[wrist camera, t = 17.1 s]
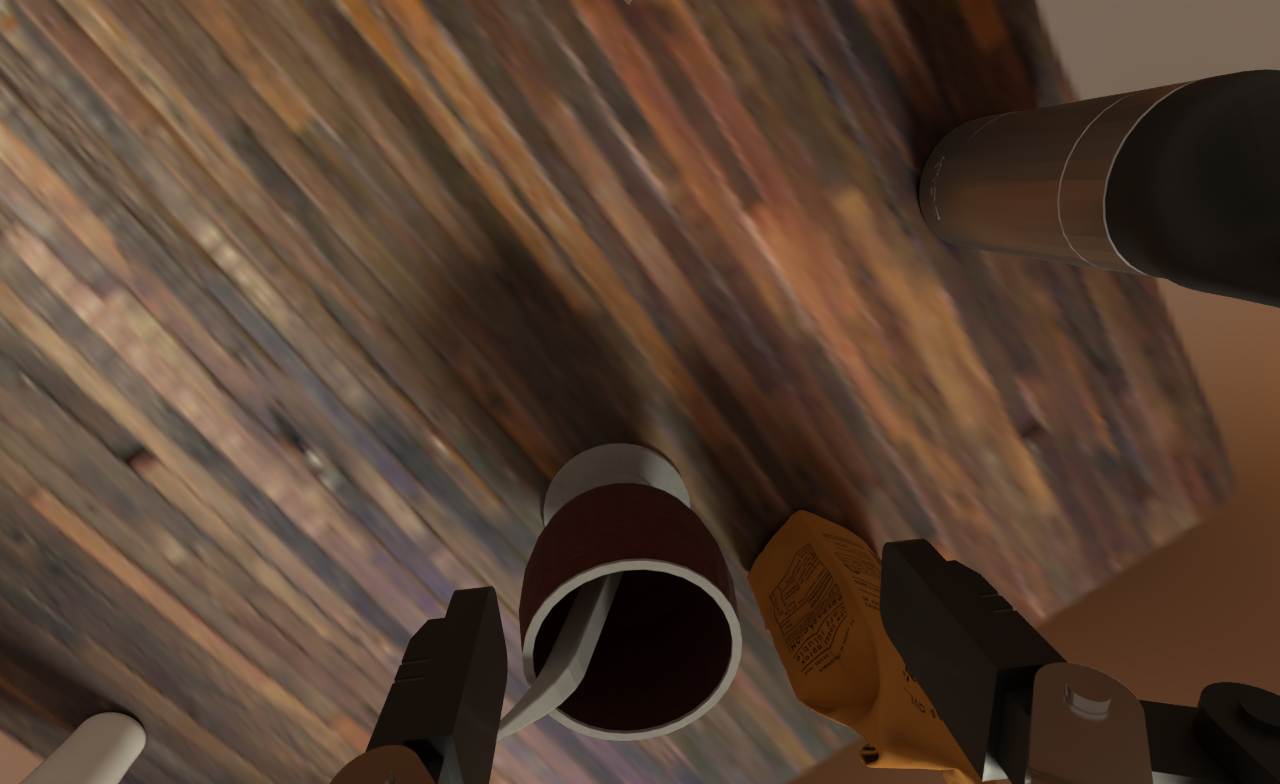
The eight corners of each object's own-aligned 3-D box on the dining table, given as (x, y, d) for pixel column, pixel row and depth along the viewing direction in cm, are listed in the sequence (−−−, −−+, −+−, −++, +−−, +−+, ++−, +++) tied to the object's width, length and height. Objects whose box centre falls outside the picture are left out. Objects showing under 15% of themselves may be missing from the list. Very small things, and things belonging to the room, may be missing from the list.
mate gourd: (673, 412, 50) (731, 550, 31) (716, 552, 54) (789, 748, 35) (490, 470, 50) (435, 643, 31) (548, 605, 54) (531, 828, 35)
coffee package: (825, 637, 58) (962, 887, 37) (728, 572, 55) (818, 807, 34) (899, 563, 56) (1086, 782, 36) (803, 491, 53) (947, 687, 32)
